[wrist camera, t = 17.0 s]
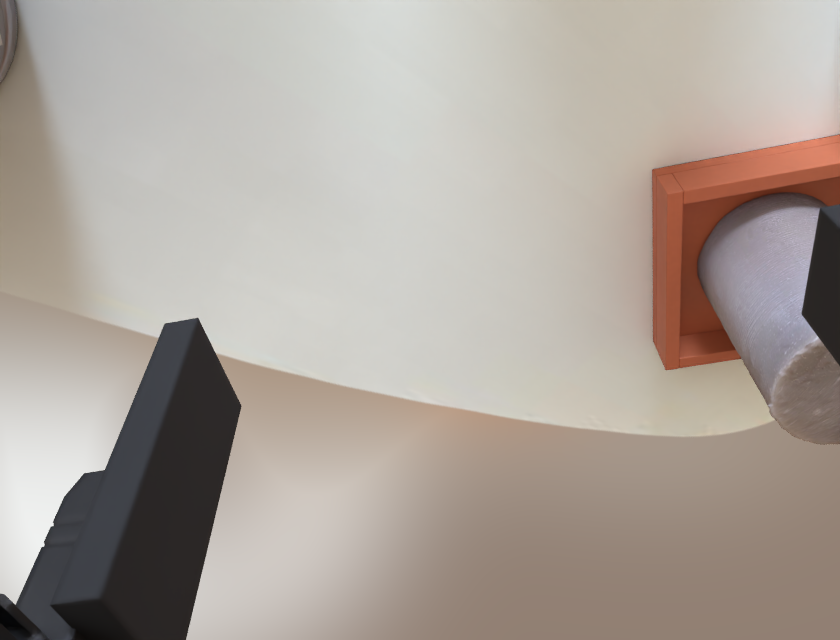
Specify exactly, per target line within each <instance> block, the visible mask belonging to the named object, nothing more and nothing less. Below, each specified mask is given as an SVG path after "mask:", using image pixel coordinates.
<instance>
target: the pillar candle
mask: <svg viewBox="0 0 840 640" xmlns="http://www.w3.org/2000/svg"><path fill="white" fill-rule="evenodd" d="M822 207H827V205H826V204H825V203H823V202H822V201H821V200H819V199H817V198H815V197H813V196H809V195H807V194H802V193H795V192H783V193H775V194H768V195H765V196H762V197H759V198H755V199H753V200H751V201H749V202H746V203H744V204H742V205H740V206H739V207H737V208H736V209H734V210H733V211H731V212H729V213H728V214H727V215H725V216H724V217H723V218H722V219H721V220H720V221H719V222H718V223H717V225H716V226H715V228H714V229H713V231H712V232H711V234H710V235H709V237H708V239H707V240H706V242H705V244H704V246H703V248H702V250H701V252H700V255H699V258H698V262H697V275H698V278H699V280H700V284H701V287H702V289H703V291H704V293H705V295H706V297H707V298H708V300H709V302H710V304H711V305H712V307H713V309H714V311H715V312H716V314H717V316H718V318H719V319H720V321H721V323H722V325H723V327H724V329H725V331H726V332H727V334H728V336H729V338H730V340H731V342H732V344H733V345H734V347H735V349H736V351H737V352H738V354H739V355H740V357H741V359H742V360H743V362H744V364H745V366H746V367H747V369H748V371H749V373H750V375H751V377H752V378H753V380H754V382H755V384H756V385H757V387H758V389H759V390H760V392H761V394H762V396H763V397H764V399H765V401H766V403H767V405H768V407H769V408H770V410H769V411H770V414H771V416H772V417H773V418H775V420H776V421H777V422H778V423H779V425H780V426H781V427H782V428H783V429H785V430H786V431H787V432H788V433H790V434H791V435H792V436H794V437H796V438H799V439H802V440H804V441H809V442H812V443H816V444H840V366H839V364H838V363H837V362H836V360H835V359H834V358H833V356H832V355H831V354H830V352H829V351H828V350H827V348H826V347H825V346H824V344H823V343H822V341H821V340H820V339H819V337H818V336H817V335H816V333H815V332H814V331H813V329H812V328H811V327H810V325H809V324H808V323H807V321H806V320H805V318H804V317H803V316H802V308H803V302H804V296H805V290H806V285H807V279H808V273H809V267H810V262H811V256H812V250H813V244H814V239H815V233H816V227H817V221H818V215H819V210H820V208H822Z"/></svg>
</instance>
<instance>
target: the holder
mask: <svg viewBox="0 0 840 640" xmlns="http://www.w3.org/2000/svg"><path fill="white" fill-rule="evenodd" d="M783 192H795V193H802V194H807V195H809V196H813V197H815V198H817V199H819V200H821V201H822V202H823V203H825V204H826V205H827V206H833V205H839V204H840V135H836V136H830V137H825V138H819V139H814V140H809V141H803V142H798V143H792V144H787V145H782V146H776V147H771V148H765V149H760V150H755V151H749V152H744V153H738V154H733V155H728V156H722V157H717V158H711V159H706V160H701V161H695V162H690V163H685V164H679V165H674V166H668V167H663V168H658V169H653V170H652V194H653V342H654V344H655V346H656V349H657V351H658V353H659V356H660V358H661V360H662V363H663V365H664V367H665V370H671V369H677V368H683V367H690V366H696V365H703V364H709V363H716V362H722V361H729V360H735V359H741V357H740V355H739V354H738V352H737V351H736V349H735V347H734V345H733V344H732V342H731V340H730V338H729V336H728V334H727V332H726V331H725V329H724V327H723V325H722V323H721V321H720V319H719V318H718V316H717V314H716V312H715V311H714V309H713V307H712V305H711V304H710V302H709V300H708V298H707V297H706V295H705V293H704V291H703V289H702V287H701V284H700V280H699V278H698V275H697V262H698V258H699V255H700V252H701V250H702V248H703V246H704V244H705V242H706V240H707V239H708V237H709V235H710V234H711V232H712V231H713V229H714V228H715V226H716V225H717V223H718V222H719V221H720V220H721V219H722V218H723V217H724V216H725V215H727V214H728V213H729V212H731V211H733V210H734V209H736V208H737V207H739V206H740V205H742V204H744V203H746V202H749V201H751V200H753V199H755V198H759V197H762V196H765V195H768V194H775V193H783Z"/></svg>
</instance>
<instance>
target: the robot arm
mask: <svg viewBox="0 0 840 640" xmlns="http://www.w3.org/2000/svg"><path fill="white" fill-rule="evenodd" d="M16 41H17V13H16V6H15V0H0V83H1V81H2V80H3V79H4V77H5V75H6V74H7V72H8V70H9V68H10V65H11V63H12V60H13V57H14V53H15V48H16ZM802 316H803V317H804V318H805V320H806V321H807V323H808V324H809V325H810V327H811V328H812V329H813V331H814V332H815V333H816V335H817V336H818V337H819V339H820V340H821V341H822V343H823V344H824V346H825V347H826V348H827V350H828V351H829V352H830V354H831V355H832V356H833V358H834V359H835V360H836V362H837V363H838V364H839V366H840V204H839V205H833V206H827V207H822V208H820V210H819V215H818V221H817V227H816V233H815V239H814V244H813V250H812V256H811V262H810V267H809V273H808V279H807V285H806V290H805V296H804V302H803V308H802ZM240 410H241V404H240V402H239V400H238V398H237V396H236V394H235V392H234V390H233V388H232V386H231V384H230V382H229V380H228V378H227V376H226V374H225V372H224V370H223V368H222V366H221V363H220V361H219V359H218V357H217V355H216V353H215V351H214V349H213V347H212V345H211V343H210V341H209V339H208V337H207V335H206V333H205V331H204V329H203V327H202V325H201V323H200V321H199V319H198V318H195V319H189V320H183V321H178V322H172V323H166V324H165V325H164V327H163V329H162V332H161V334H160V337H159V339H158V342H157V344H156V347H155V349H154V352H153V354H152V357H151V359H150V361H149V364H148V366H147V369H146V371H145V373H144V376H143V378H142V381H141V384H140V386H139V388H138V391H137V393H136V395H135V398H134V400H133V403H132V405H131V408H130V410H129V413H128V415H127V417H126V420H125V422H124V425H123V428H122V430H121V432H120V434H119V437H118V439H117V442H116V444H115V447H114V449H113V452H112V454H111V456H110V459H109V461H108V464H107V466H106V469H105V470H103V471H97V472H90V473H84V474H83V476H82V477H81V478H80V479H79V480H78V482H77V483H76V484H75V485H74V486H73V487H72V489H71V490H70V491H69V492H68V493H67V494H66V496H65V497H64V499H63V501H62V504H61V506H60V508H59V510H58V512H57V514H56V516H55V519H54V521H53V523H54V526H52V527H51V528H50V530H49V532H48V534H47V537H46V539H45V541H44V543H45V546H44V547H42V548H41V550H40V552H39V554H38V557H37V559H36V561H35V563H34V565H33V568H32V570H31V572H30V575H29V577H28V579H27V581H26V583H25V585H24V588H23V590H22V592H21V594H20V597H19V599H18V601H17V603H16V605H15V604H14V603H13V602H12V601H11V600H9V598H8V597H6V596H5V595H4V594H0V640H186V637H187V633H188V628H189V624H190V620H191V616H192V612H193V607H194V603H195V599H196V595H197V590H198V586H199V582H200V578H201V574H202V569H203V565H204V561H205V557H206V553H207V548H208V544H209V540H210V536H211V532H212V527H213V523H214V518H215V515H216V510H217V506H218V502H219V498H220V493H221V489H222V485H223V481H224V477H225V473H226V469H227V464H228V460H229V456H230V452H231V447H232V443H233V439H234V435H235V431H236V426H237V422H238V417H239V414H240Z"/></svg>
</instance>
